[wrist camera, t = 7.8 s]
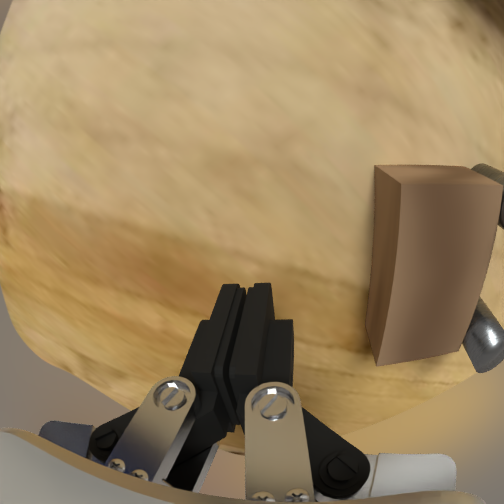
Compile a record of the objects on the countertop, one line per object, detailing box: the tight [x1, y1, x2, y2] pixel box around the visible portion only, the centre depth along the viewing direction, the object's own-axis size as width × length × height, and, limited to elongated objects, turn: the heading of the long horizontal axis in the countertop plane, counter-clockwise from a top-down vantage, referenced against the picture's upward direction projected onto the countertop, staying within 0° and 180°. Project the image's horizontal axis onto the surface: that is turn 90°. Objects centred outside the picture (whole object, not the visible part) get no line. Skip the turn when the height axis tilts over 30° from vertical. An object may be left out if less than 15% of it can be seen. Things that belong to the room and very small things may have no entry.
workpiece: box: [365, 165, 503, 366], centre depth 12 cm, size 5×9×4 cm, turn 8°
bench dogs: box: [462, 164, 504, 373], centre depth 10 cm, size 2×9×5 cm, turn 7°
